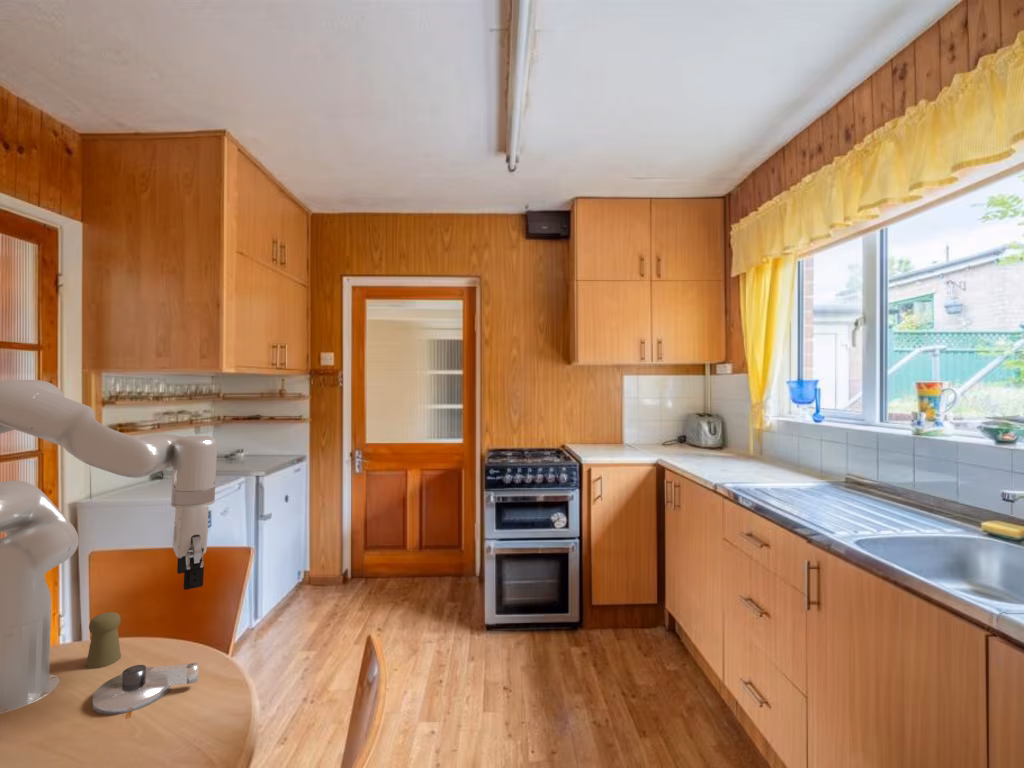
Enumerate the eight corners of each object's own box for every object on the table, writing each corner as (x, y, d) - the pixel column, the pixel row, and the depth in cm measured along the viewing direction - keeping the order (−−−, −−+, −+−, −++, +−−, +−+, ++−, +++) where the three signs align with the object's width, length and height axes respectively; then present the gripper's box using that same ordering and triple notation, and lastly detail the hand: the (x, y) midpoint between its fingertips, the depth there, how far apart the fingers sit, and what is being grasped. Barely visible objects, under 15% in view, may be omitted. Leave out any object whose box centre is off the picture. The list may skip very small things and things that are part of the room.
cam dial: (76, 718, 86) (77, 693, 86) (115, 678, 98) (116, 655, 98) (183, 707, 90) (184, 683, 90) (209, 669, 102) (209, 648, 102)
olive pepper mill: (100, 676, 100) (102, 623, 100) (77, 672, 101) (78, 619, 101) (129, 660, 106) (130, 610, 106) (106, 656, 107) (108, 607, 107)
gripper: (166, 490, 104) (162, 570, 104) (176, 508, 91) (172, 599, 91) (207, 486, 109) (203, 563, 109) (222, 503, 96) (218, 589, 96)
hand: (189, 579), depth 100 cm, fingers open, 9 cm apart
